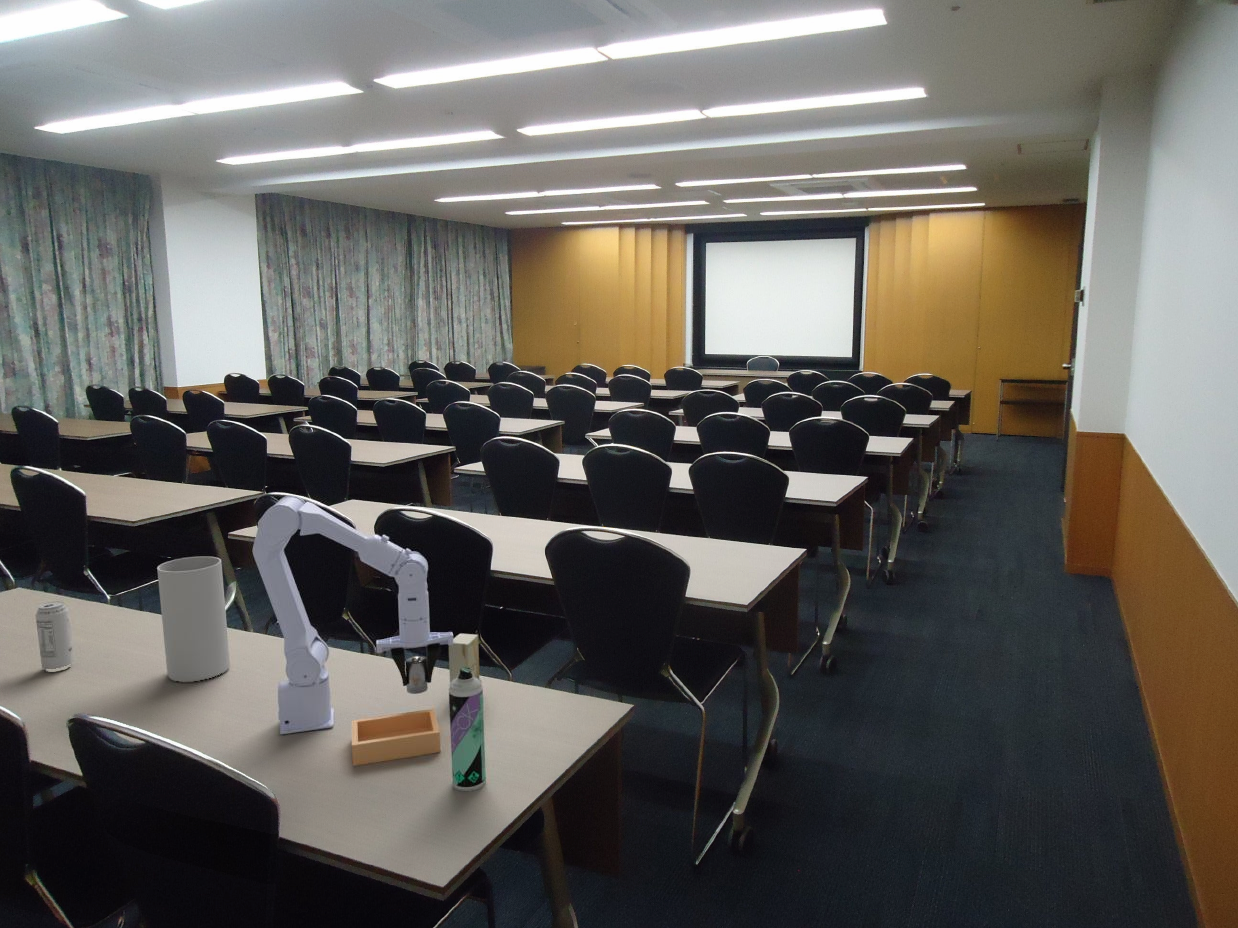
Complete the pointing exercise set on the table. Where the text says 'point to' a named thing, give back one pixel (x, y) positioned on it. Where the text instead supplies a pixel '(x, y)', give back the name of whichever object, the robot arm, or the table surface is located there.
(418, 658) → the cell
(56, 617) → the energy drink can
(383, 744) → the trough
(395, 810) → the table surface
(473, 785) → the spray can
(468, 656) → the skincare box
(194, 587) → the cylinder vase
